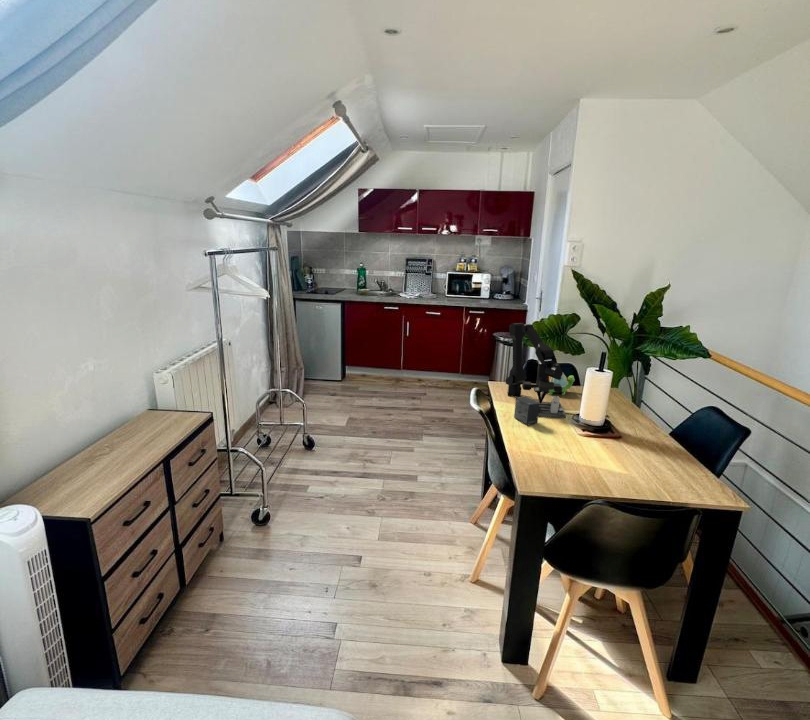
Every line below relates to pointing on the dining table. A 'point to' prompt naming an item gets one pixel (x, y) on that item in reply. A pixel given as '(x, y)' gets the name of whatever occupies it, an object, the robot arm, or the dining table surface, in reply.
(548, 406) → the console
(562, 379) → the turtle holder
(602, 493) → the dining table surface
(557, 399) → the fader
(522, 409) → the small box
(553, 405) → the fader
